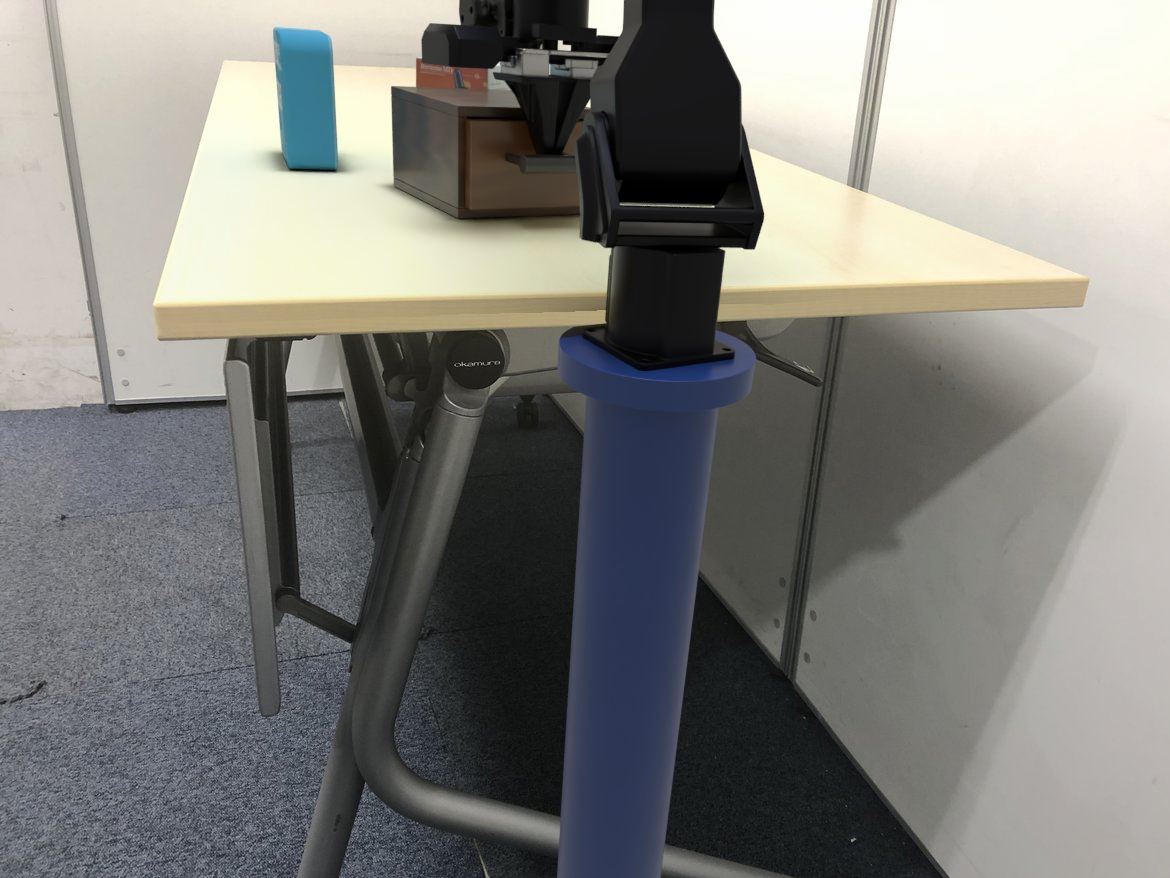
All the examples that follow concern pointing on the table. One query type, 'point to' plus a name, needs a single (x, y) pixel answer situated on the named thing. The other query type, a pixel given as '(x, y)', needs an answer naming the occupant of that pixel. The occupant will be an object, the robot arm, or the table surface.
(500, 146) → the drawer
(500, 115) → the cabinet
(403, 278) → the table surface
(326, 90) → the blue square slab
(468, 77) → the small box
